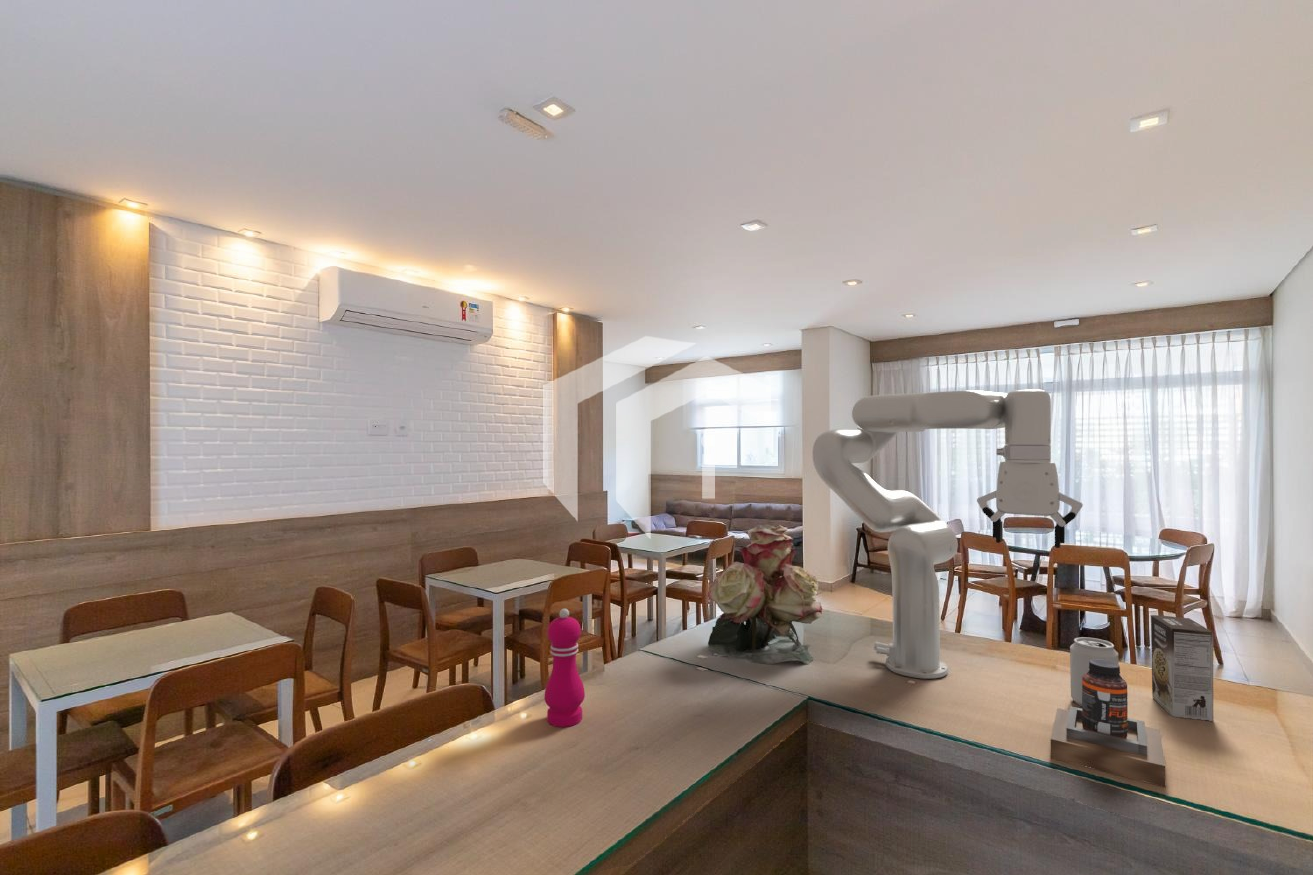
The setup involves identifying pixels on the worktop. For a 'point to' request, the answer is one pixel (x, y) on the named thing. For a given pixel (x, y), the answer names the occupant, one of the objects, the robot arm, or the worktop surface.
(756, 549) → the rose bouquet
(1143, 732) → the display pedestal
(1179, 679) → the coffee box
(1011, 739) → the worktop surface
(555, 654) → the pepper mill
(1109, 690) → the supplement bottle
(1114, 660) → the can
